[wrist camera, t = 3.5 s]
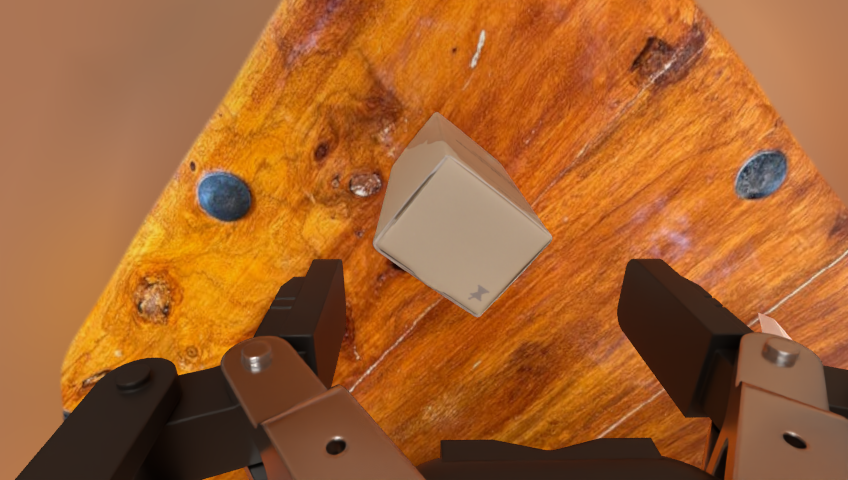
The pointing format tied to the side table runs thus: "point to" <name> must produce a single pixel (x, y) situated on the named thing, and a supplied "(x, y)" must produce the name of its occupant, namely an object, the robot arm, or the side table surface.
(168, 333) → the side table surface
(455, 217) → the box
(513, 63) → the side table surface
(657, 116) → the side table surface
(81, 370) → the side table surface
